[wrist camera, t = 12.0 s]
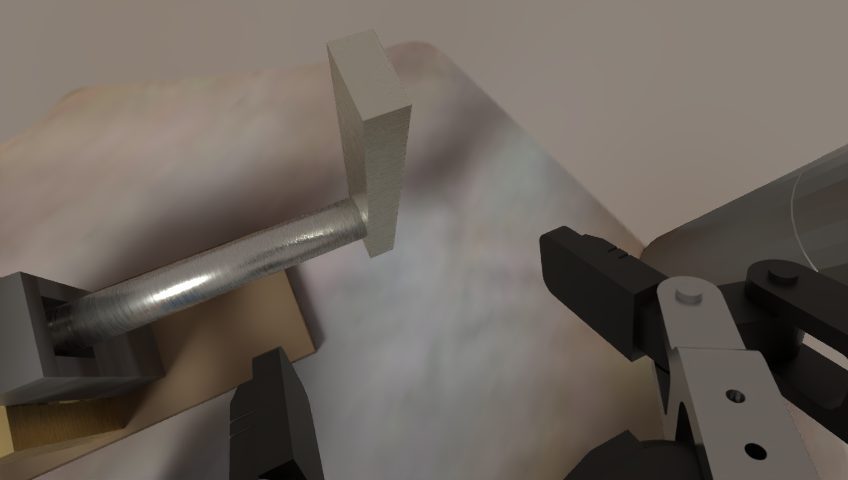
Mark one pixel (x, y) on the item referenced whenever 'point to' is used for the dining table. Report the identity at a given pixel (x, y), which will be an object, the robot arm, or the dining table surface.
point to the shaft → (286, 242)
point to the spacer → (55, 426)
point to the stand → (141, 355)
